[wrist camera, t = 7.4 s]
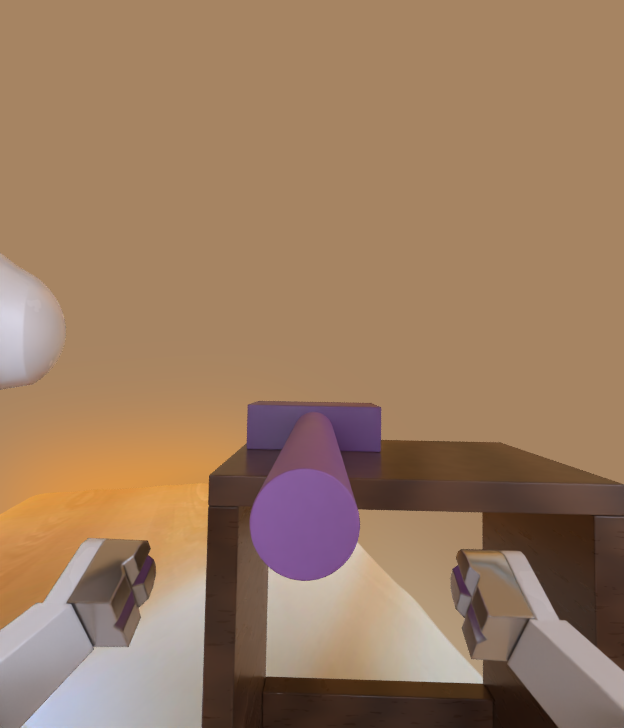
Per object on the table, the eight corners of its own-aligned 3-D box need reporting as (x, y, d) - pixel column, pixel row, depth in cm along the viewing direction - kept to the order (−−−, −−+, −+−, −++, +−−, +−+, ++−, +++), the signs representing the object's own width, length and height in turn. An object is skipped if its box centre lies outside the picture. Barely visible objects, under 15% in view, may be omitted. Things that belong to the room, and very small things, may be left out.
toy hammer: (499, 587, 8) (498, 455, 9) (111, 576, 9) (117, 447, 9) (371, 441, 29) (371, 403, 29) (257, 438, 29) (258, 400, 29)
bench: (191, 1030, 17) (208, 474, 18) (244, 758, 29) (253, 437, 30) (638, 1054, 16) (625, 484, 17) (502, 768, 28) (500, 442, 29)
